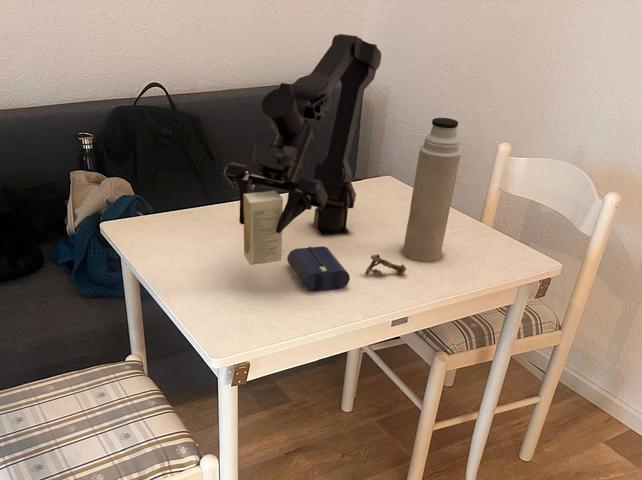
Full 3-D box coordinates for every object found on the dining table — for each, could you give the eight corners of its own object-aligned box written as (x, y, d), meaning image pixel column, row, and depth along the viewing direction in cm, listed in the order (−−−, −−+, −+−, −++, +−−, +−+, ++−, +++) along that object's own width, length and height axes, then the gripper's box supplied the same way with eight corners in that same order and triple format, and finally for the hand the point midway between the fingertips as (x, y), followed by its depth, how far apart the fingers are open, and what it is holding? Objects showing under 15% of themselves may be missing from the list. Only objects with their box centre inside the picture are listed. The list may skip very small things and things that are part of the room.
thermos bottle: (440, 248, 147) (466, 116, 132) (440, 263, 141) (467, 127, 125) (403, 243, 149) (425, 112, 133) (402, 259, 142) (424, 123, 126)
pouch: (329, 263, 139) (330, 244, 137) (348, 288, 130) (351, 268, 128) (286, 267, 137) (287, 247, 134) (303, 292, 128) (305, 272, 126)
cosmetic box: (274, 251, 127) (277, 189, 120) (282, 262, 124) (285, 198, 117) (241, 255, 125) (242, 192, 118) (248, 265, 122) (249, 201, 115)
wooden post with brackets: (360, 270, 135) (371, 250, 133) (392, 282, 138) (403, 263, 136) (363, 274, 133) (374, 254, 131) (395, 286, 137) (407, 267, 135)
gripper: (228, 116, 117) (196, 197, 116) (326, 134, 111) (294, 220, 109) (249, 149, 128) (219, 223, 126) (340, 167, 121) (310, 246, 119)
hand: (258, 227), depth 120 cm, fingers closed on cosmetic box, 7 cm apart
